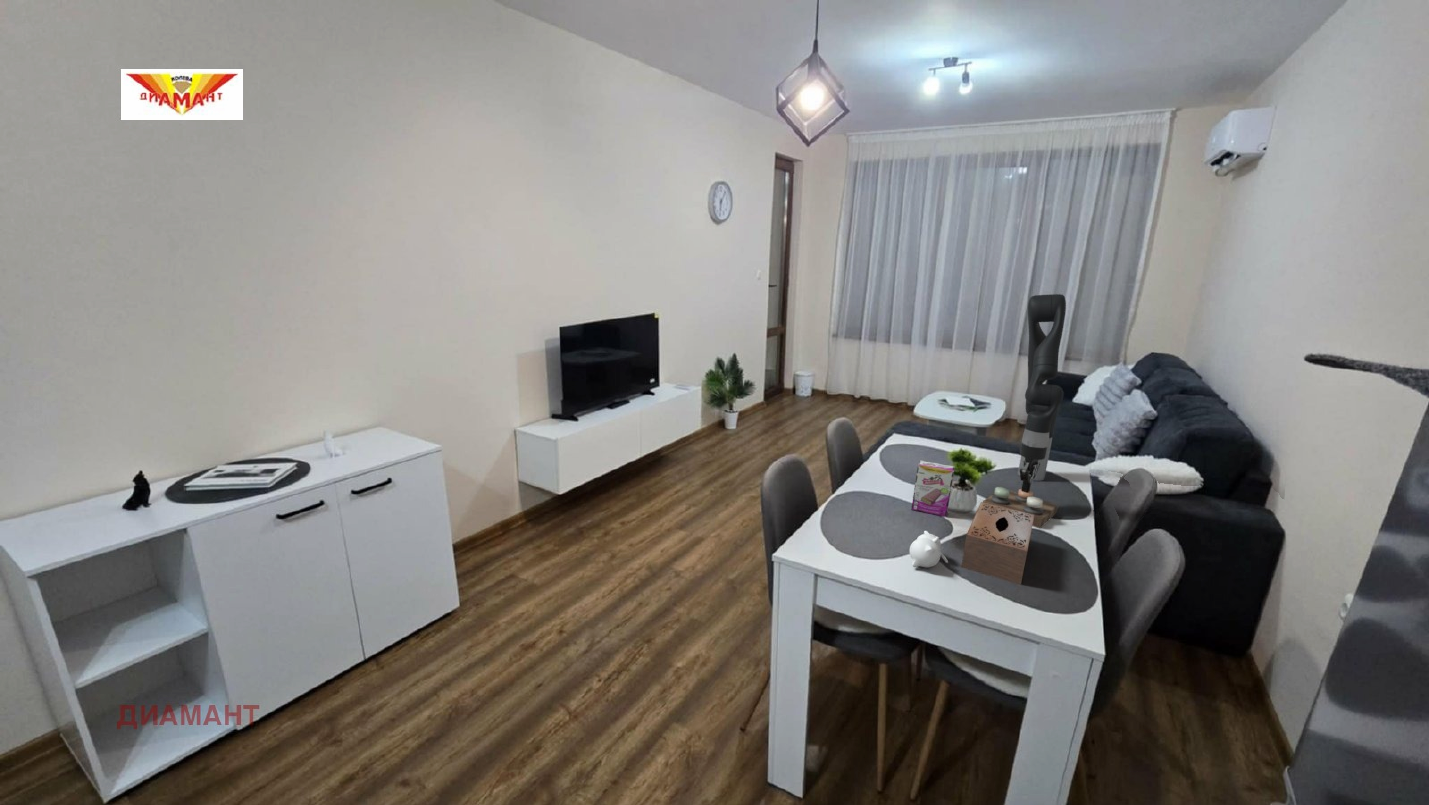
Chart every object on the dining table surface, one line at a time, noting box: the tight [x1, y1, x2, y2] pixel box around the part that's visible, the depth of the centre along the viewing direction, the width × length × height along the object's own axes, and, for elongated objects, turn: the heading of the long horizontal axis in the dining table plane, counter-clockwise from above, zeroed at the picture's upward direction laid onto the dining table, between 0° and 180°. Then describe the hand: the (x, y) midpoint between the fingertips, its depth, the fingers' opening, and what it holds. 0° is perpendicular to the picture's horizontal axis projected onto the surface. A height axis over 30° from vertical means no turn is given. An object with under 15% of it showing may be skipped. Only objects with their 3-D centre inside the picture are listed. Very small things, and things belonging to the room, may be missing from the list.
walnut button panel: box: [982, 490, 1059, 529], centre depth 188 cm, size 17×18×4 cm
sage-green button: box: [993, 486, 1011, 498], centre depth 188 cm, size 4×4×2 cm
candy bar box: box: [911, 460, 956, 518], centre depth 184 cm, size 11×5×16 cm, turn 65°
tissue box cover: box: [960, 501, 1034, 585], centre depth 158 cm, size 26×14×10 cm, turn 147°
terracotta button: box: [1017, 488, 1034, 499], centre depth 190 cm, size 4×4×2 cm
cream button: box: [1026, 496, 1044, 508], centre depth 181 cm, size 4×4×2 cm
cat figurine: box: [909, 530, 949, 568], centre depth 153 cm, size 9×11×12 cm
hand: (1025, 491), depth 190 cm, fingers closed
